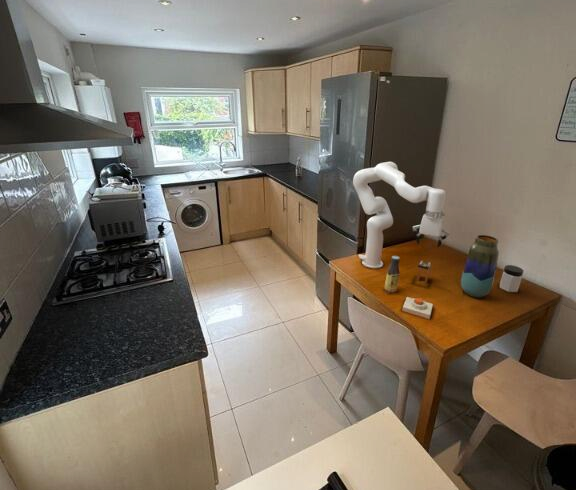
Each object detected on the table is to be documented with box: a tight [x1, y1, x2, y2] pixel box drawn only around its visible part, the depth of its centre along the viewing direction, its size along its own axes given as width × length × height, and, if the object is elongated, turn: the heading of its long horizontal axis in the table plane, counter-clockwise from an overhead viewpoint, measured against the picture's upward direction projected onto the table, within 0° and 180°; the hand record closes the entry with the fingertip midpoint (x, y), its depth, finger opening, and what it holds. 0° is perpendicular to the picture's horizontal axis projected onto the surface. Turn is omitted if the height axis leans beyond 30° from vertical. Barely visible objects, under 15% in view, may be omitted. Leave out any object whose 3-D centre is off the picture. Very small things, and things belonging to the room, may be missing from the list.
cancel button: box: [415, 297, 424, 305], centre depth 143 cm, size 4×4×2 cm
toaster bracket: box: [416, 260, 432, 284], centre depth 166 cm, size 10×8×12 cm
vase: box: [460, 234, 500, 298], centre depth 153 cm, size 14×14×31 cm
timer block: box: [402, 296, 434, 320], centre depth 144 cm, size 12×10×4 cm
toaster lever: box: [417, 262, 429, 270], centre depth 161 cm, size 11×5×2 cm, turn 149°
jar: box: [499, 264, 524, 293], centre depth 160 cm, size 9×8×12 cm
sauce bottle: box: [384, 255, 401, 295], centre depth 156 cm, size 7×6×20 cm
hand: (428, 244), depth 157 cm, fingers open, 9 cm apart
